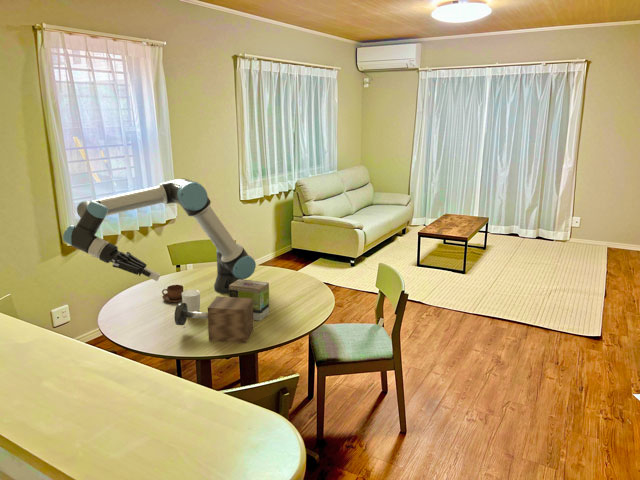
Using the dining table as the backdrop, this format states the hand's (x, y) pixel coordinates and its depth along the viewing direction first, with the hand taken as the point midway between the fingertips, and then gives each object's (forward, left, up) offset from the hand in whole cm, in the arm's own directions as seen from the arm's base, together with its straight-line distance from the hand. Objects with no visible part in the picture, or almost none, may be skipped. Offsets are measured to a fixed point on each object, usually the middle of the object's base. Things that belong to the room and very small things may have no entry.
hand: (158, 277), depth 190 cm
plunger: (-8, +14, -19) cm, 25 cm away
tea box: (-35, +15, -23) cm, 44 cm away
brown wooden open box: (-16, +25, -22) cm, 37 cm away
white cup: (-18, -4, -23) cm, 29 cm away
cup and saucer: (-23, -24, -23) cm, 40 cm away
